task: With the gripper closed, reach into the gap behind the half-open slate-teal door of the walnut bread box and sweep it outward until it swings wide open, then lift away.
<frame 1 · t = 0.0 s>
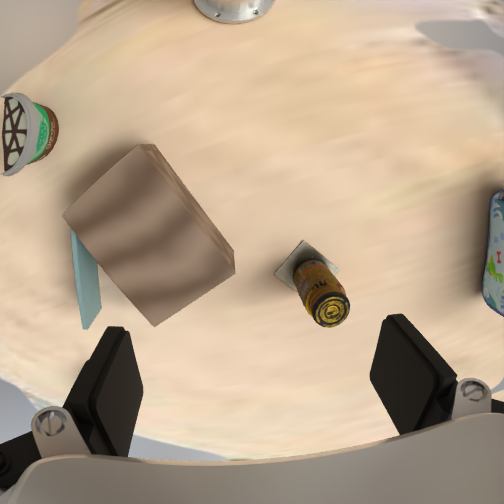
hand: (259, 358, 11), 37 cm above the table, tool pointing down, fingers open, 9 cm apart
bread box: (157, 225, 46), on the table
food container: (49, 130, 40), on the table
lunch box: (496, 240, 53), on the table
condiment: (307, 271, 51), on the table
door: (83, 272, 43), point 4 cm above the table, hinge at 40.0°, touching bread box
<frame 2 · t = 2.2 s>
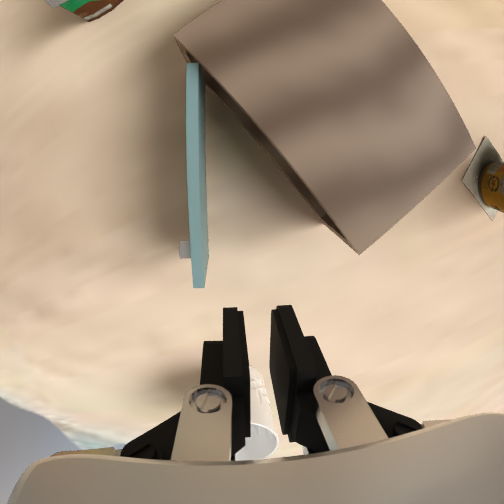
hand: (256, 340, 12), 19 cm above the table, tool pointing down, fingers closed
bread box: (316, 99, 27), on the table
white cup: (235, 381, 37), on the table
condiment: (488, 178, 31), on the table
door: (190, 173, 24), point 4 cm above the table, hinge at 40.0°, touching bread box
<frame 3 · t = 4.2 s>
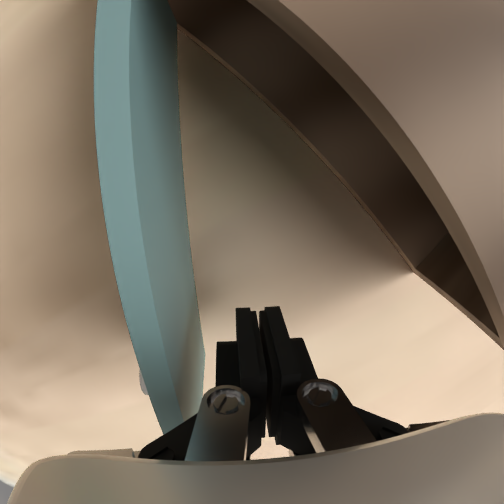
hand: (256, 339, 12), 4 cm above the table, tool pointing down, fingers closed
bread box: (391, 50, 12), on the table
door: (142, 222, 10), point 5 cm above the table, hinge at 43.1°, touching gripper
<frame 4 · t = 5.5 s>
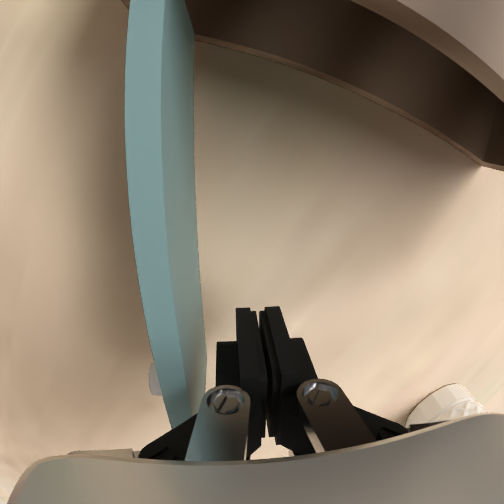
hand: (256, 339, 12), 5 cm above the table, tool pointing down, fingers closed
white cup: (434, 407, 23), on the table
door: (158, 236, 10), point 5 cm above the table, hinge at 73.0°, touching gripper
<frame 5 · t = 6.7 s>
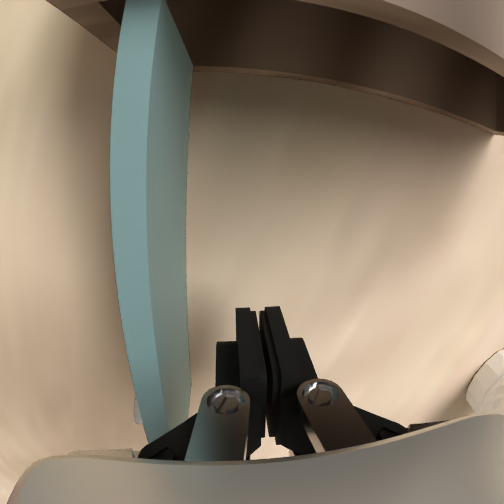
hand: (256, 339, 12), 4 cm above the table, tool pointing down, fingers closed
white cup: (490, 374, 21), on the table
door: (146, 280, 10), point 4 cm above the table, hinge at 89.2°
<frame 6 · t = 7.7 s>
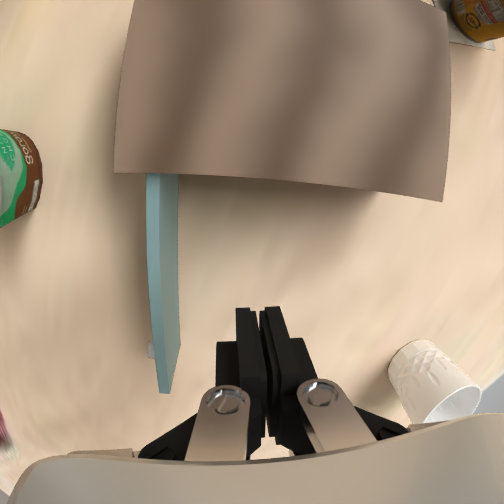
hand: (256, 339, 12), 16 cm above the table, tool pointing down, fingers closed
bread box: (280, 89, 23), on the table
food container: (21, 154, 23), on the table
white cup: (410, 361, 33), on the table
condiment: (462, 18, 21), on the table
door: (157, 279, 23), point 4 cm above the table, hinge at 89.2°
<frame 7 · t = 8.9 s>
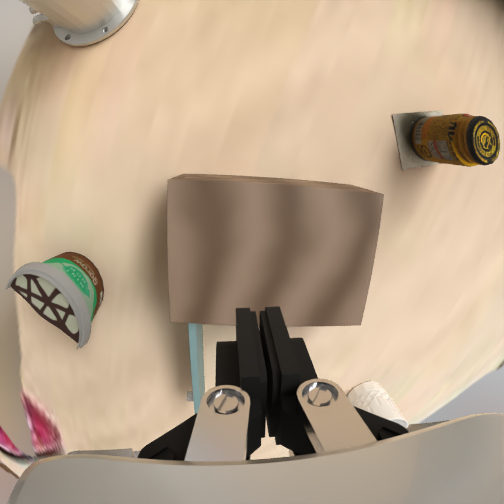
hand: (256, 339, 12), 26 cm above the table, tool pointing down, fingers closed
bread box: (265, 236, 38), on the table
food container: (83, 269, 38), on the table
white cup: (363, 394, 47), on the table
condiment: (421, 138, 35), on the table
door: (192, 359, 37), point 5 cm above the table, hinge at 89.2°
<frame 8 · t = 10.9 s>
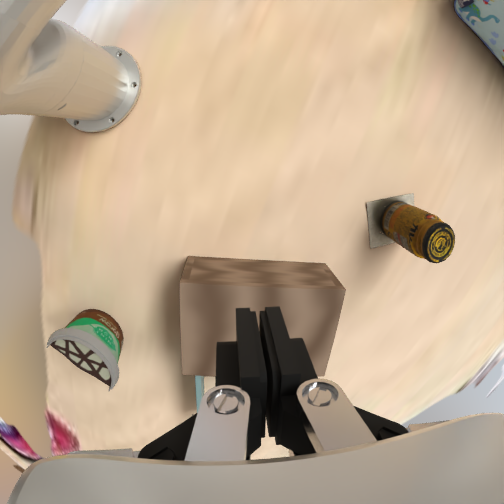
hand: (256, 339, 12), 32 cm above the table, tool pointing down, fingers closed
bread box: (254, 303, 48), on the table
food container: (105, 322, 47), on the table
lunch box: (491, 39, 35), on the table
condiment: (391, 219, 45), on the table
door: (196, 393, 47), point 4 cm above the table, hinge at 89.2°
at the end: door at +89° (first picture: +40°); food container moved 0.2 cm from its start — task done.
